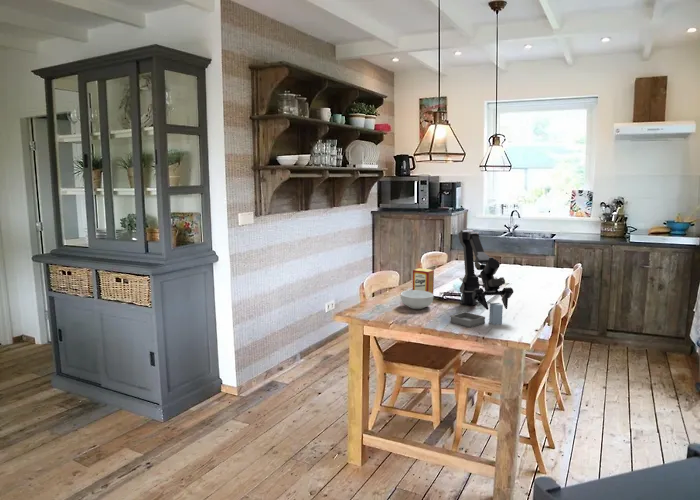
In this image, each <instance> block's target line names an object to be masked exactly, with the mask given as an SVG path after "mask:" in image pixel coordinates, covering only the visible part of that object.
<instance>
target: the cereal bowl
mask: <svg viewBox="0 0 700 500" xmlns="http://www.w3.org/2000/svg"><path fill="white" fill-rule="evenodd" d="M400 300H401V303H402V304H403V305H405V306H407V307H409V309H413V310H421V309H424V308H426V307H429V306H431V304H432V303H433V302H434V301H433V300H434V293H433V294H432V293H430V292H427V291H420V290H413V289H412V290H410V289H409V290H403V291H402V292H401V293H400Z"/></svg>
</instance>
